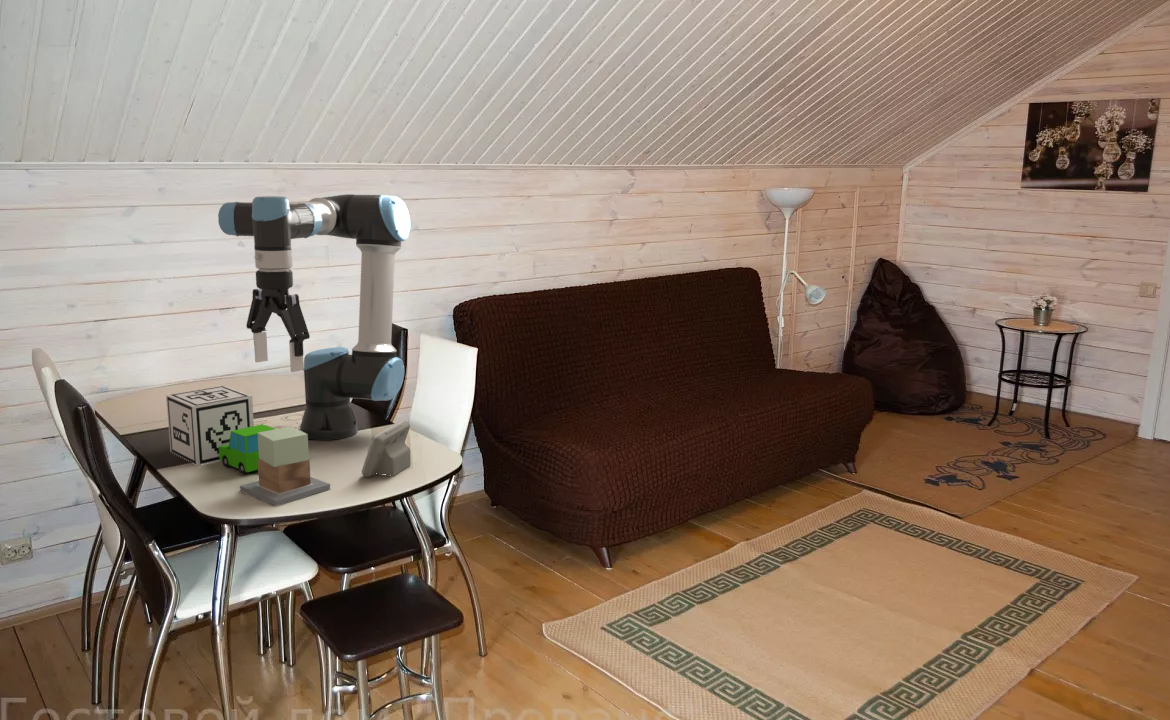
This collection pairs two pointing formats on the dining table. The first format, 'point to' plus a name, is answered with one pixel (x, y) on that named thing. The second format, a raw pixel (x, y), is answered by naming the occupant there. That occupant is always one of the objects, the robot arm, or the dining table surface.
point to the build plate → (287, 496)
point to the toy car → (243, 449)
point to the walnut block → (284, 476)
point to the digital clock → (388, 451)
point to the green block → (283, 446)
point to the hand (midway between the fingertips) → (279, 366)
